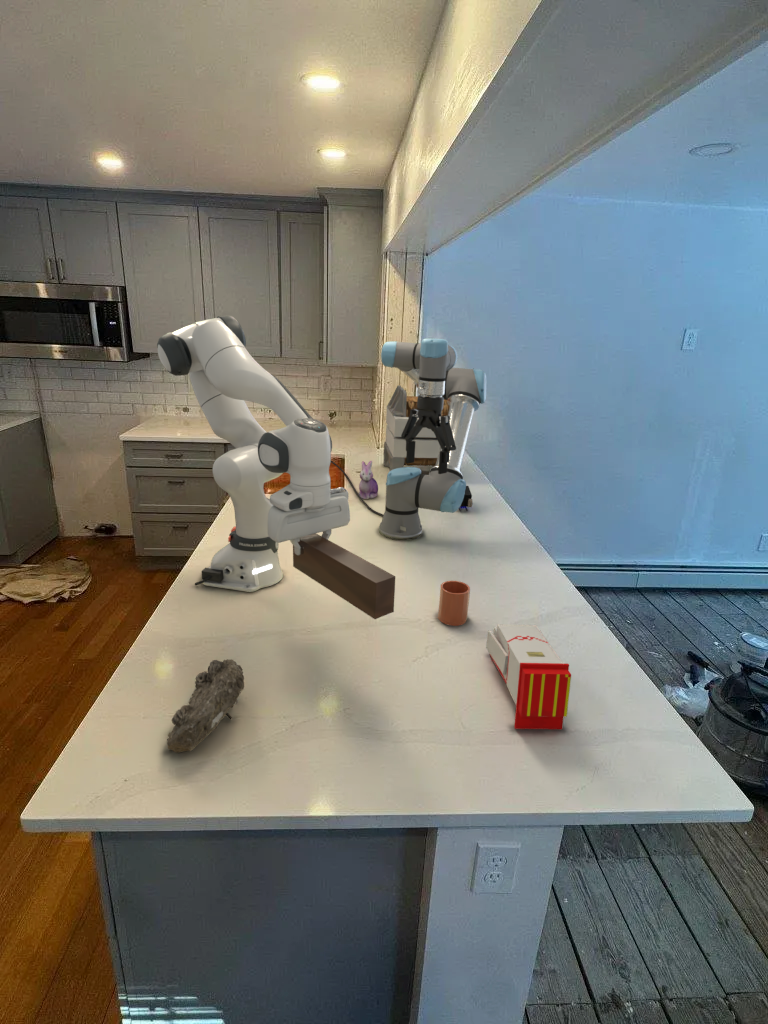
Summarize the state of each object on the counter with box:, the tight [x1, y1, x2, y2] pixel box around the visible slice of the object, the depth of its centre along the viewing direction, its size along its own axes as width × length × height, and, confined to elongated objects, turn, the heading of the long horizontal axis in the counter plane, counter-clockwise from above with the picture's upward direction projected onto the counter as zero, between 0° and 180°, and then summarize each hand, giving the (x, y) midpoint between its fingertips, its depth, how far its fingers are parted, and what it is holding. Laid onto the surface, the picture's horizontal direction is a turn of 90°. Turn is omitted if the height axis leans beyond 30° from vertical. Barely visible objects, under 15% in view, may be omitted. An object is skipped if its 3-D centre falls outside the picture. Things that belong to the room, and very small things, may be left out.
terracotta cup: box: [437, 580, 471, 627], centre depth 145 cm, size 7×7×9 cm
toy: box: [485, 623, 572, 730], centre depth 120 cm, size 12×13×30 cm
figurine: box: [358, 460, 379, 500], centre depth 236 cm, size 9×10×15 cm
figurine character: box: [458, 485, 473, 512], centre depth 229 cm, size 7×8×15 cm
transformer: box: [383, 384, 462, 473], centre depth 268 cm, size 34×33×41 cm
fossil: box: [166, 658, 245, 754], centre depth 106 cm, size 22×10×15 cm
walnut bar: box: [292, 533, 396, 620], centre depth 122 cm, size 5×30×8 cm, turn 41°
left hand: (310, 550), depth 130 cm, fingers closed on walnut bar, 5 cm apart
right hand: (425, 467), depth 168 cm, fingers open, 13 cm apart
